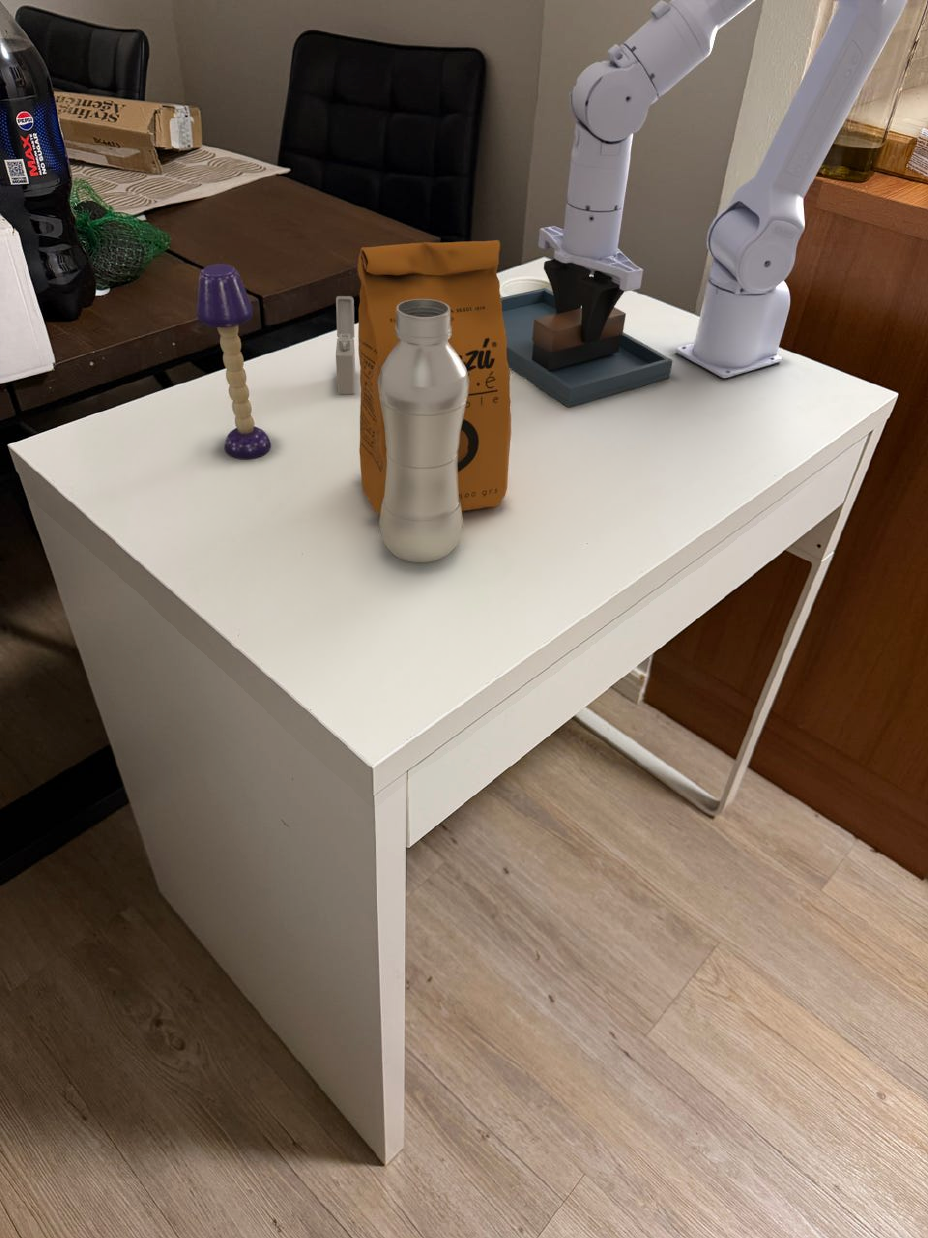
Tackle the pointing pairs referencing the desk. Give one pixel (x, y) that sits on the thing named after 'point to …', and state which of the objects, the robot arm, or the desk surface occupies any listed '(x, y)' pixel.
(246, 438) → the toy lamp
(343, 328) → the lighter
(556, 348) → the brush
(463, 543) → the desk surface
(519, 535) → the desk surface
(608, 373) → the tray
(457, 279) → the coffee package
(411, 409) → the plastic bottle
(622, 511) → the desk surface
